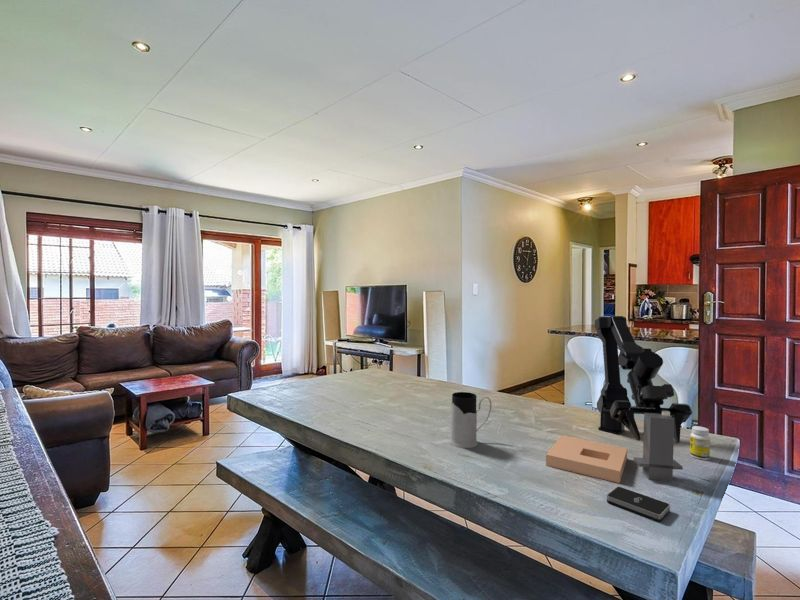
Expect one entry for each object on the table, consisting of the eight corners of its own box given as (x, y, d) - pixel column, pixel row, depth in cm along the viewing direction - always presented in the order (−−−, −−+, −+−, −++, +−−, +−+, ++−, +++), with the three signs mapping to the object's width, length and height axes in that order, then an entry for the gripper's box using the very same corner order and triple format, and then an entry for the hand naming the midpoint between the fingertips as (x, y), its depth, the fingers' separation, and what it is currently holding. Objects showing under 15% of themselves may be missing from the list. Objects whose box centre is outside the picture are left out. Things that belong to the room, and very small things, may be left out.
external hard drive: (617, 494, 99) (618, 485, 99) (671, 513, 91) (671, 504, 91) (605, 504, 95) (605, 495, 95) (660, 525, 86) (661, 516, 86)
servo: (639, 478, 107) (641, 412, 106) (633, 471, 111) (635, 407, 110) (682, 482, 105) (684, 414, 104) (674, 475, 109) (676, 410, 108)
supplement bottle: (690, 452, 124) (691, 424, 124) (710, 456, 121) (711, 427, 121) (688, 457, 120) (689, 428, 120) (709, 461, 117) (710, 432, 117)
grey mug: (444, 439, 133) (445, 392, 132) (483, 434, 138) (483, 389, 137) (458, 449, 124) (458, 399, 124) (498, 443, 130) (499, 395, 129)
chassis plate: (561, 444, 129) (561, 435, 129) (627, 458, 119) (627, 448, 119) (545, 465, 114) (546, 454, 114) (619, 483, 104) (620, 471, 104)
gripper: (614, 370, 113) (628, 423, 103) (689, 374, 110) (712, 429, 100) (604, 392, 121) (616, 443, 111) (674, 396, 118) (694, 449, 108)
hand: (658, 441), depth 107 cm, fingers open, 9 cm apart
